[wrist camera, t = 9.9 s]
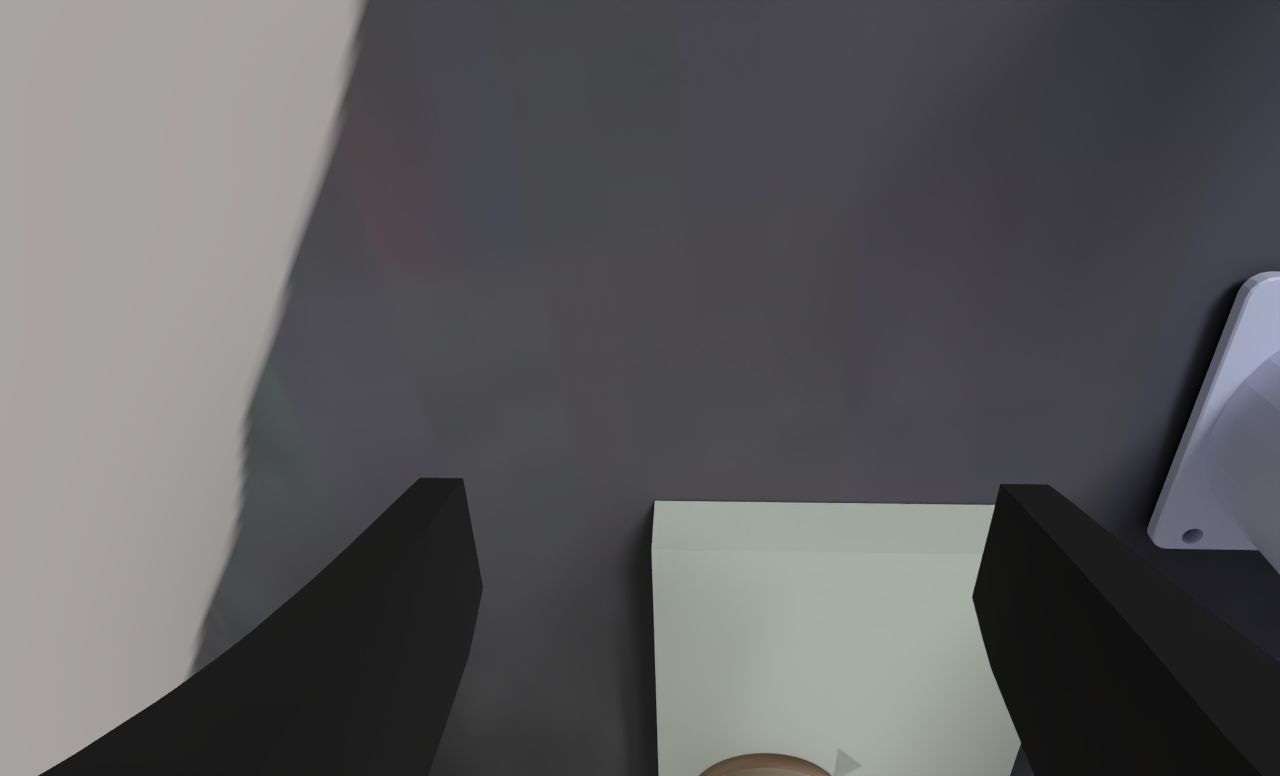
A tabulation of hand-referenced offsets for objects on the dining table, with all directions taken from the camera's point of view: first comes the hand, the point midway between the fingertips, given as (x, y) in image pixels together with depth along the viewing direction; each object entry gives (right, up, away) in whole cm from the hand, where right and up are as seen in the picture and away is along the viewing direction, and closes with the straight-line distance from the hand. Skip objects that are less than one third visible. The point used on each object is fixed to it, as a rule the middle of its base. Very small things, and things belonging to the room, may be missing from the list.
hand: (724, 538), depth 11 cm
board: (+5, -9, +16) cm, 19 cm away
